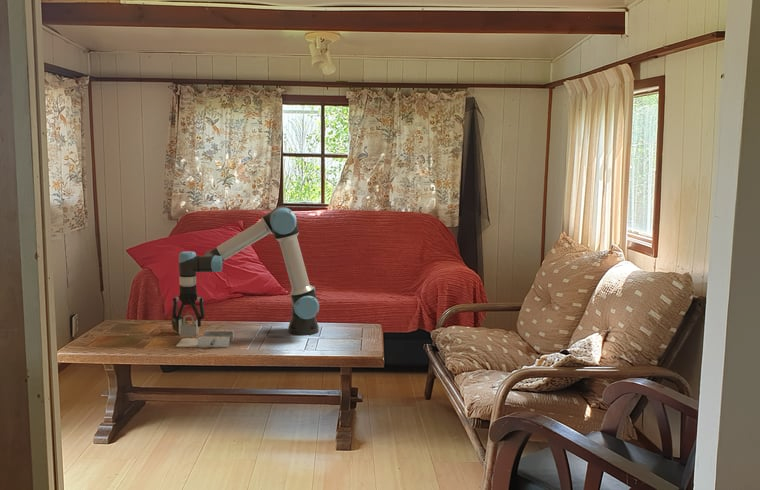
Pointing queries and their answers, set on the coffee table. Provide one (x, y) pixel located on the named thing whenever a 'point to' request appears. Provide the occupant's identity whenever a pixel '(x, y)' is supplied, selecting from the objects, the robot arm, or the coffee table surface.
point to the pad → (188, 342)
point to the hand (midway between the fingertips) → (189, 333)
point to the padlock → (188, 327)
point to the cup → (174, 324)
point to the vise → (216, 338)
